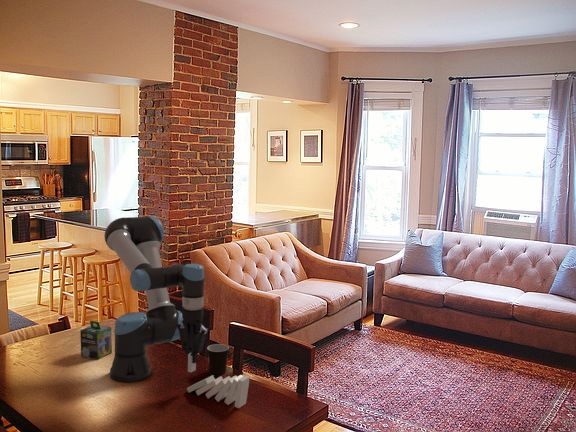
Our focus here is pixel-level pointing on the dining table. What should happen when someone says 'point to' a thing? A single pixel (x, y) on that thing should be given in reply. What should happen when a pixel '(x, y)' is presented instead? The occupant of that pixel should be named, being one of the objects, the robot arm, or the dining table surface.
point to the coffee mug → (217, 358)
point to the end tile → (200, 384)
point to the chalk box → (96, 341)
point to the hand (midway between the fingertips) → (191, 370)
